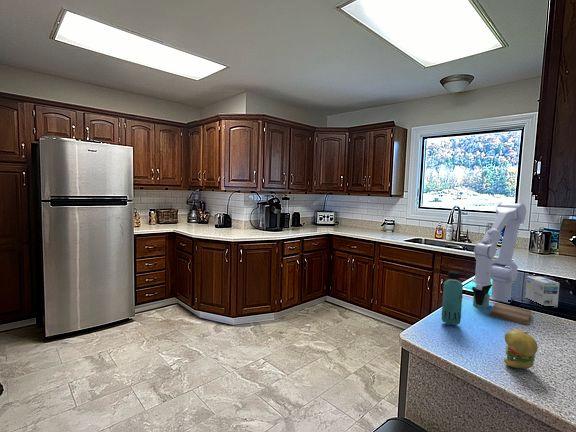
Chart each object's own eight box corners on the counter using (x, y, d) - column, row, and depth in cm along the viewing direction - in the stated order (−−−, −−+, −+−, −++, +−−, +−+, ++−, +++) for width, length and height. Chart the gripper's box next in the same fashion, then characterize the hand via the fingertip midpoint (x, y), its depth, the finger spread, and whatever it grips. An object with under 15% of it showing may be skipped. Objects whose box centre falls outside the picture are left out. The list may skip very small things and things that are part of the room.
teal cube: (475, 302, 140) (476, 291, 140) (488, 305, 137) (489, 294, 136) (472, 305, 136) (473, 294, 136) (486, 308, 133) (487, 297, 133)
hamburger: (521, 361, 92) (525, 321, 91) (542, 376, 85) (546, 333, 84) (496, 362, 92) (499, 321, 90) (514, 376, 84) (518, 333, 83)
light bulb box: (558, 307, 136) (560, 282, 135) (542, 307, 136) (544, 282, 135) (539, 298, 146) (541, 275, 145) (524, 298, 147) (526, 275, 146)
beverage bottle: (440, 326, 115) (443, 272, 113) (441, 320, 120) (444, 268, 119) (460, 330, 112) (464, 275, 110) (460, 323, 117) (464, 270, 116)
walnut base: (494, 307, 134) (495, 303, 134) (530, 315, 126) (530, 310, 126) (489, 316, 125) (489, 311, 125) (527, 325, 117) (527, 319, 117)
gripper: (476, 266, 143) (474, 295, 144) (468, 272, 132) (466, 304, 134) (494, 269, 139) (492, 299, 140) (488, 276, 128) (486, 308, 129)
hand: (481, 302), depth 136 cm, fingers open, 7 cm apart
